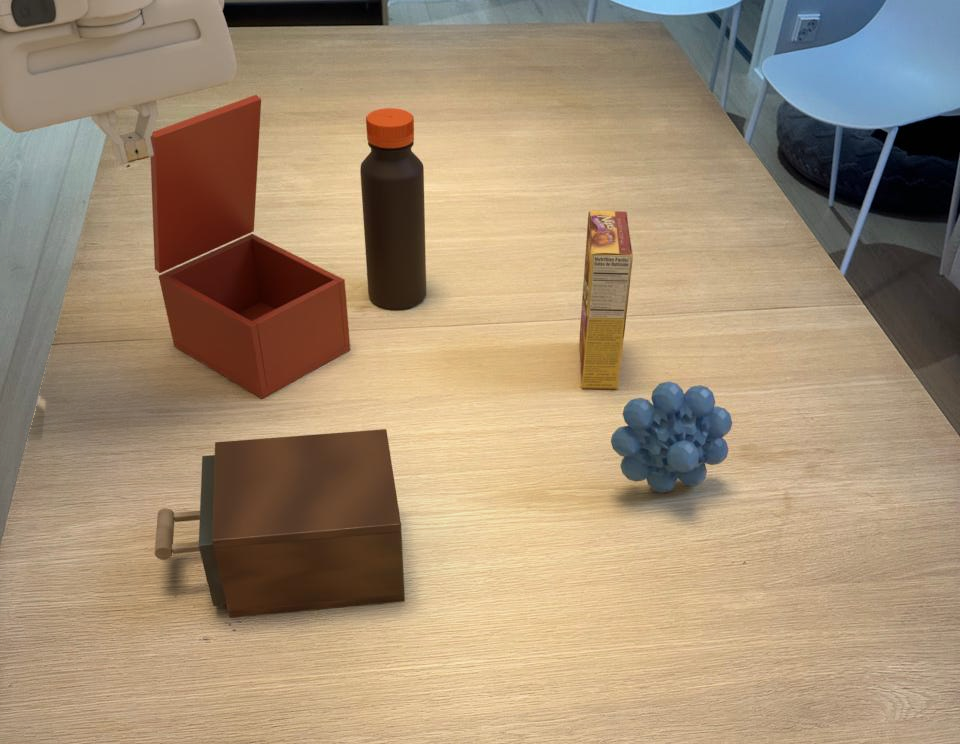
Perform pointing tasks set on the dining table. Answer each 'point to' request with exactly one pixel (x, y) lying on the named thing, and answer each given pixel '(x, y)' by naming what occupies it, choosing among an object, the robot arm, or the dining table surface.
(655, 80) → the dining table surface
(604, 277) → the candy box
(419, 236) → the bottle
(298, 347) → the chest
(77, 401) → the dining table surface
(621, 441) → the blue knobbed flower
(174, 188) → the lid
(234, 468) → the cabinet
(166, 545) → the pulled out drawer
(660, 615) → the dining table surface
